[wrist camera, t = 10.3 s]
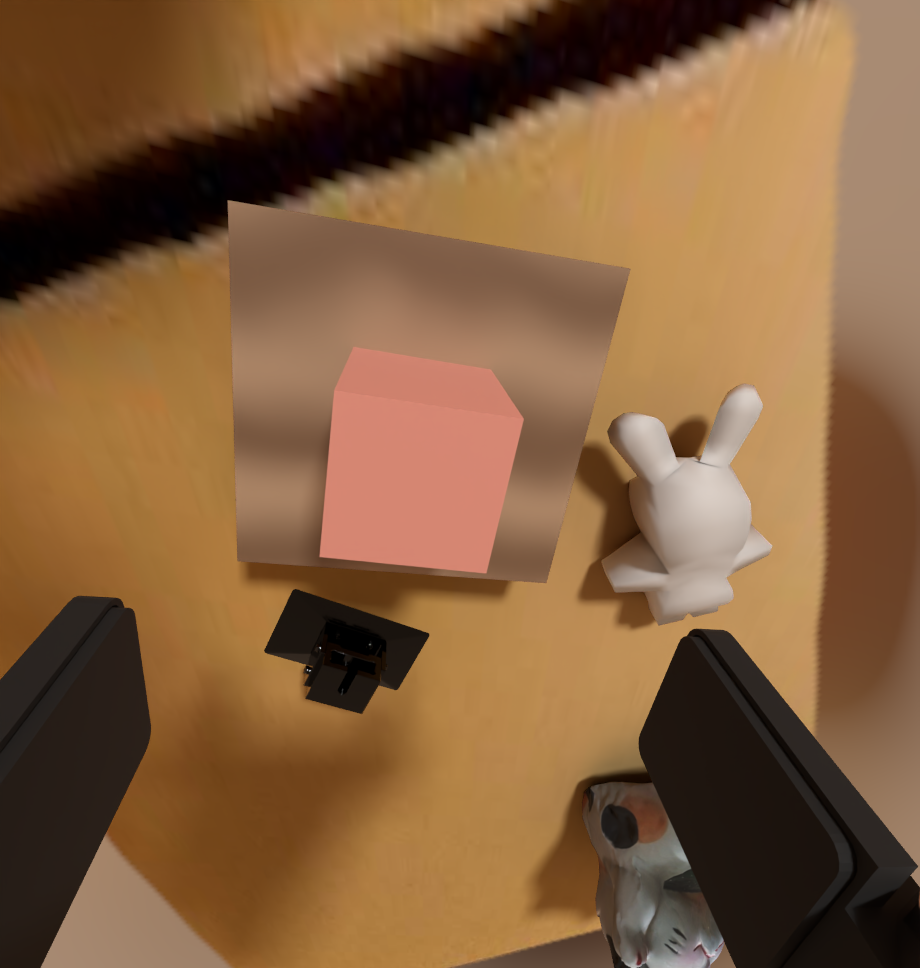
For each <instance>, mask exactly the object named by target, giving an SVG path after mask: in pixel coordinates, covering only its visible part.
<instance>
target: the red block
mask: <svg viewBox="0 0 920 968" xmlns="http://www.w3.org/2000/svg"><path fill="white" fill-rule="evenodd" d="M523 421H524V418H523V417H522V415H521V414H520V412H519V411H518V409H517V408H516V406H515V405H514V403H513V402H512V400H511V399H510V397H509V396H508V394H507V393H506V391H505V390H504V388H503V387H502V385H501V384H500V382H499V381H498V379H497V378H496V376H495V375H494V373H493V372H492V370H491V369H485V368H479V367H473V366H466V365H460V364H454V363H448V362H442V361H436V360H430V359H424V358H418V357H412V356H406V355H400V354H394V353H388V352H382V351H376V350H370V349H364V348H358V347H353V349H352V352H351V354H350V356H349V358H348V361H347V363H346V365H345V367H344V369H343V372H342V374H341V376H340V378H339V381H338V383H337V385H336V387H335V390H334V398H333V409H332V421H331V432H330V443H329V455H328V466H327V477H326V489H325V500H324V511H323V523H322V534H321V545H320V557H325V558H335V559H345V560H355V561H365V562H375V563H385V564H395V565H405V566H416V567H426V568H436V569H446V570H456V571H466V572H476V573H487V569H488V565H489V560H490V556H491V552H492V548H493V544H494V540H495V536H496V532H497V528H498V523H499V519H500V515H501V511H502V507H503V503H504V499H505V495H506V491H507V486H508V482H509V478H510V474H511V470H512V466H513V462H514V458H515V454H516V449H517V445H518V441H519V437H520V433H521V429H522V425H523Z"/></svg>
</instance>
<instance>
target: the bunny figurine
mask: <svg viewBox="0 0 920 968" xmlns="http://www.w3.org/2000/svg"><path fill="white" fill-rule="evenodd" d="M762 407H763V405H762V402H761V400H760V397H759V395H758V393H757V391H756V389H755V387H754V385H749V384H741V385H739V386H736V387H735V388H733V389H732V390H730V391H729V392H728V393H727V395H726V396H725V398H724V400H723V401H722V403H721V405H720V408H719V411H718V413H717V416H716V419H715V422H714V424H713V427H712V430H711V433H710V435H709V438H708V441H707V443H706V446H705V449H704V452H703V454H702V456H696V457H676V456H675V453H674V451H673V448H672V445H671V443H670V440H669V437H668V434H667V432H666V429H665V426H664V424H663V423H662V422H660V421H659V420H658V419H657V418H654V417H650V416H647V415H644V414H640V413H633V412H630V413H623V414H622V415H620V416H619V417H617V418H616V419H614V420H613V421H612V423H611V425H610V427H609V429H608V436H609V439H610V443H611V444H612V445H613V447H614V448H615V449H616V450H617V451H618V453H619V454H620V455H621V456H622V457H623V459H624V460H625V461H626V462H627V463H628V465H629V466H630V467H631V468H632V469H633V471H634V472H635V473H636V474H637V477H635V478H633V479H631V480H630V484H629V499H630V506H631V509H632V513H633V516H634V519H635V521H636V523H637V525H638V527H639V529H640V531H641V532H640V533H639V534H638V535H636V536H635V537H634V538H632V539H631V540H630V541H628V542H627V543H626V544H624V545H623V546H621V547H620V548H618V549H617V550H616V551H614V552H613V553H611V554H610V555H609V556H607V557H606V558H604V559H603V560H601V562H602V566H603V569H604V572H605V574H606V576H607V578H608V580H609V582H610V584H611V586H612V587H613V589H614V591H615V592H644V593H645V595H646V598H647V600H648V606H649V610H650V611H651V613H652V615H653V617H654V618H655V620H656V622H657V623H658V625H663V624H667V623H671V622H675V621H679V620H683V619H684V617H685V616H686V615H687V614H688V613H690V614H691V615H692V616H693V617H696V616H700V615H704V614H708V613H712V612H716V611H718V606H721V605H725V604H728V603H729V602H730V601H731V600H732V599H733V589H732V587H731V586H730V584H729V582H728V581H727V579H726V577H728V576H730V575H731V574H733V573H735V572H736V571H738V570H740V569H742V568H744V567H746V566H748V565H750V564H752V563H754V562H756V561H758V560H760V559H762V558H764V557H766V556H768V555H769V553H770V550H771V548H772V545H771V544H770V543H769V542H768V541H767V540H766V539H765V538H764V537H763V536H762V535H761V534H760V533H759V532H758V531H757V530H756V529H755V528H754V527H753V526H752V525H751V502H750V501H749V499H748V497H747V495H746V493H745V491H744V490H743V488H742V486H741V484H740V482H739V480H738V479H737V477H736V475H735V473H734V471H733V469H732V468H731V466H730V463H731V461H732V460H733V458H734V456H735V455H736V453H737V452H738V450H739V449H740V447H741V445H742V444H743V442H744V441H745V439H746V437H747V436H748V434H749V432H750V431H751V429H752V428H753V426H754V424H755V423H756V421H757V419H758V418H759V415H760V412H761V410H762Z"/></svg>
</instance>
